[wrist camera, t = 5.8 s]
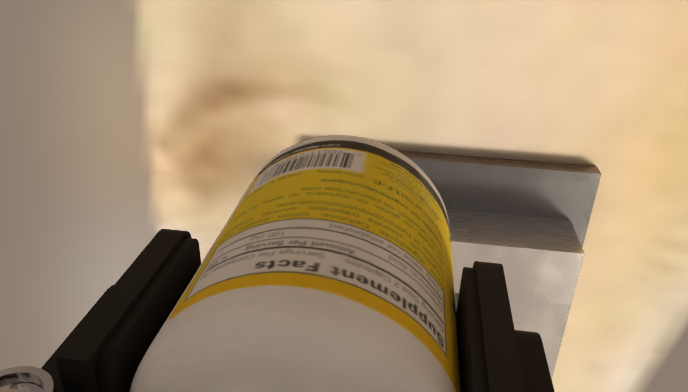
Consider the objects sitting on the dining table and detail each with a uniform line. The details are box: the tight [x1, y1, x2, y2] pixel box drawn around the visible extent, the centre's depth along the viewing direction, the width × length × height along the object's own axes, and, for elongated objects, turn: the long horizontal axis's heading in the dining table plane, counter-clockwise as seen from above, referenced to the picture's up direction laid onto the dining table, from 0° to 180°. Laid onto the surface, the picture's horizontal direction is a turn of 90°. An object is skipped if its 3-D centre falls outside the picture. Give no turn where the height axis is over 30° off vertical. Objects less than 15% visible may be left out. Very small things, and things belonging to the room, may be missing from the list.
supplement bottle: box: [130, 135, 461, 392], centre depth 11 cm, size 5×5×10 cm
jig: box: [398, 151, 601, 379], centre depth 36 cm, size 20×16×5 cm
